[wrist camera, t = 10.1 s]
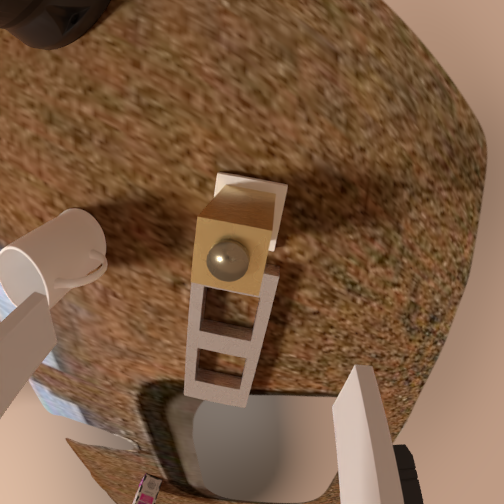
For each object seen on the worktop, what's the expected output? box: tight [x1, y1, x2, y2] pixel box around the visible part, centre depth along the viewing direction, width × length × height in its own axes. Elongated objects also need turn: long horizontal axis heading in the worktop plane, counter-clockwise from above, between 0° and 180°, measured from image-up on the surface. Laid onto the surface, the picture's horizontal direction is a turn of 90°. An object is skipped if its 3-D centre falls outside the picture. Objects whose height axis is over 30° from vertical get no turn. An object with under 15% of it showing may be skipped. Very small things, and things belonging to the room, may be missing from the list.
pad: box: [214, 172, 288, 251], centre depth 32 cm, size 7×7×1 cm
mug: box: [0, 208, 107, 310], centre depth 30 cm, size 12×8×12 cm
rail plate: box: [184, 264, 280, 408], centre depth 38 cm, size 22×9×2 cm, turn 170°
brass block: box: [191, 185, 276, 296], centre depth 26 cm, size 5×5×12 cm
